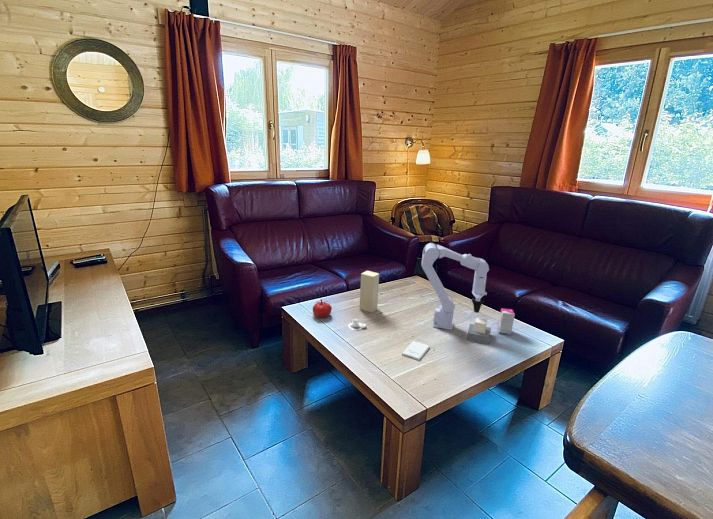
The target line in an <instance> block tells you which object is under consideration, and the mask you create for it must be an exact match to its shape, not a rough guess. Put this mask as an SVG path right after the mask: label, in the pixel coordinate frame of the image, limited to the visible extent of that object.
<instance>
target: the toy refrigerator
mask: <svg viewBox="0 0 713 519" xmlns="http://www.w3.org/2000/svg"><path fill="white" fill-rule="evenodd" d="M379 284H380V273H378V272H374V271H372V270H371V271H370V270H365V271H364V272H362V273H360V289H359V290H360V292H359V310H361V311H365V312H367V313H374V312H375V311H376V310H377V309H378V302H379V301H378V300H379Z"/></svg>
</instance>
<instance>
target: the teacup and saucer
mask: <svg viewBox="0 0 713 519" xmlns="http://www.w3.org/2000/svg"><path fill="white" fill-rule="evenodd" d="M347 326H348V328H349V329H350V330H353V331H360V330H363V329H365V328H367V324H366V323H361V322H360V319H359V318H352V319H351V320H350V323H348V325H347ZM351 326H353V327H354V328H352V327H351Z"/></svg>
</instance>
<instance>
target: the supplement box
mask: <svg viewBox="0 0 713 519" xmlns="http://www.w3.org/2000/svg"><path fill="white" fill-rule="evenodd" d="M515 316H516V314H515V312H514V310H513V309H511V308H500V312H499V318H498V323H497V331H498V334H500V335H506V334H507V335H508V336H511V335H512V331H513V326H514V320H515Z"/></svg>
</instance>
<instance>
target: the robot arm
mask: <svg viewBox="0 0 713 519" xmlns="http://www.w3.org/2000/svg"><path fill="white" fill-rule="evenodd" d="M421 256H422V257H421V258H422V259H421V268H422V270H423V272H424V274H425V275H426V277H427V279H428V280H429V282H430V284H431V286H432V288H433V289H434V290H433V291H435V294H436V296H437V297H438V300H439V302H440V305H439V307H435V308H434V316H433V320H432V321H433V323H432V325H433V327H434V328H437V329H438V328H439V329H445V330H449V331H452V330H453V328H454V321H453V319H454V311H455V309H456V307H455V306H456V305H455V304H454V301H453V297H452V296H451V295H450V294H449V293H448V292H447V290H446V289H445V287H444V285H443V283H442V281H441V279H440V278H439V276H438V274H437V273H436V270H435V268H434V267H433V265H434V262H436V260H437V259H442V258H444V257H445V258H449V259H452V260H455V261H457V262H460V265H461V266H463V267H465V268H468V269H471V270H474V275H473V276H474V277H473V284H472V290H471V293H472V296H473V297H472V298H471V302H472V305H473V313H479V312H480V309H481V307H482V305H483V304H484V302H485V300H484V299H482V298H483V297H484V296H487V294H488V292H487V291H486V283H487V277H488V276H487V273H488V272H489V271H490V268H489V267H490V266H489V264H488V262H486V260H485V259H483V258H480V257H475V256H472V254H471V253H468V254H467V253H464V254H461V253H458V252H456V251H453V250H451V249H450V248H447V247H444V246H442V245H440V244H436V243H434V242H429V243H427V244H425V246H424V247H423V250H422V255H421Z"/></svg>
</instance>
